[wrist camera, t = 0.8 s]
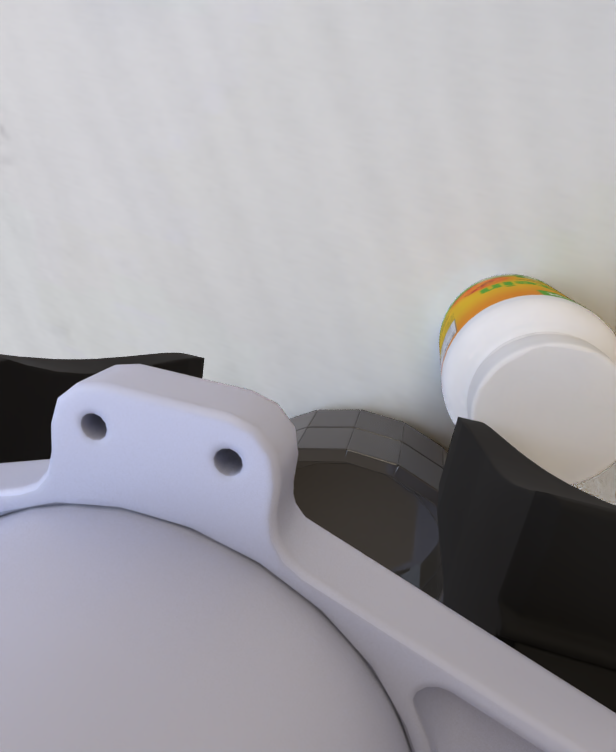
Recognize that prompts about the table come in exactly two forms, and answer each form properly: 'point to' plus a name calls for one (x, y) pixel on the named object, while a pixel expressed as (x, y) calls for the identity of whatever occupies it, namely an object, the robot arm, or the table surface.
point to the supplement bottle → (533, 373)
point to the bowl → (373, 489)
